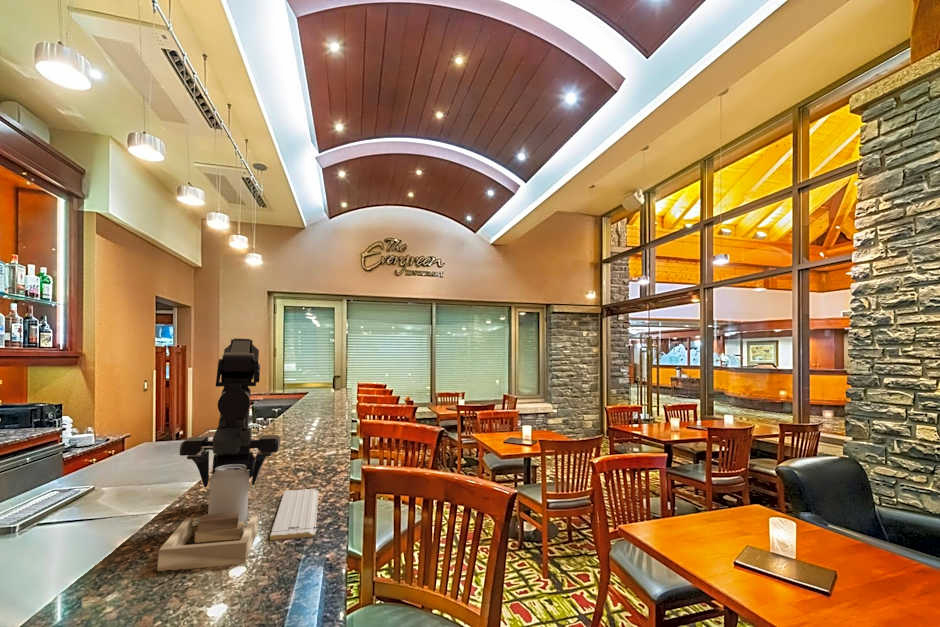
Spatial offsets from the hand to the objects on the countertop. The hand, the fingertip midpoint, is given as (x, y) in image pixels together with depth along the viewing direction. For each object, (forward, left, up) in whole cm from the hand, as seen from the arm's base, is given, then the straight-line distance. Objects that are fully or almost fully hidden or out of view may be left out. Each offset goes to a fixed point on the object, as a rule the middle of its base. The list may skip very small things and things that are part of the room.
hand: (229, 485), depth 99 cm
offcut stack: (+7, 0, -8) cm, 11 cm away
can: (0, 0, -8) cm, 8 cm away
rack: (+12, 0, -8) cm, 14 cm away
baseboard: (-4, +15, -9) cm, 18 cm away
